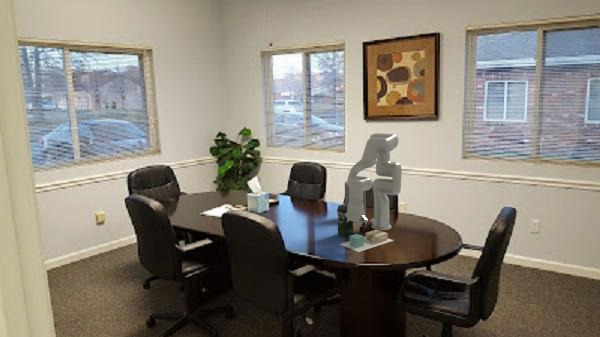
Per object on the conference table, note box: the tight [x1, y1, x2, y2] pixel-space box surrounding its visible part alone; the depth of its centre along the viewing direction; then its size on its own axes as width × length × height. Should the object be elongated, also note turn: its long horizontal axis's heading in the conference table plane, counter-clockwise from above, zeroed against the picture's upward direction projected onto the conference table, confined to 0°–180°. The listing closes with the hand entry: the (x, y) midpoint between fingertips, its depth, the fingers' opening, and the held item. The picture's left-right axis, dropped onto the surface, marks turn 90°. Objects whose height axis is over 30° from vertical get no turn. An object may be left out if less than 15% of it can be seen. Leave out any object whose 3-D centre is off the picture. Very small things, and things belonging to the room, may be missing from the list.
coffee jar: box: [336, 204, 355, 238], centre depth 273 cm, size 10×8×19 cm
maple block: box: [365, 229, 389, 243], centre depth 264 cm, size 9×9×4 cm
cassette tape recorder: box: [344, 181, 367, 218], centre depth 307 cm, size 14×6×25 cm, turn 80°
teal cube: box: [349, 233, 365, 248], centre depth 255 cm, size 6×6×6 cm
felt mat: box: [339, 235, 395, 253], centre depth 260 cm, size 16×28×1 cm, turn 127°
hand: (355, 231), depth 254 cm, fingers open, 9 cm apart
